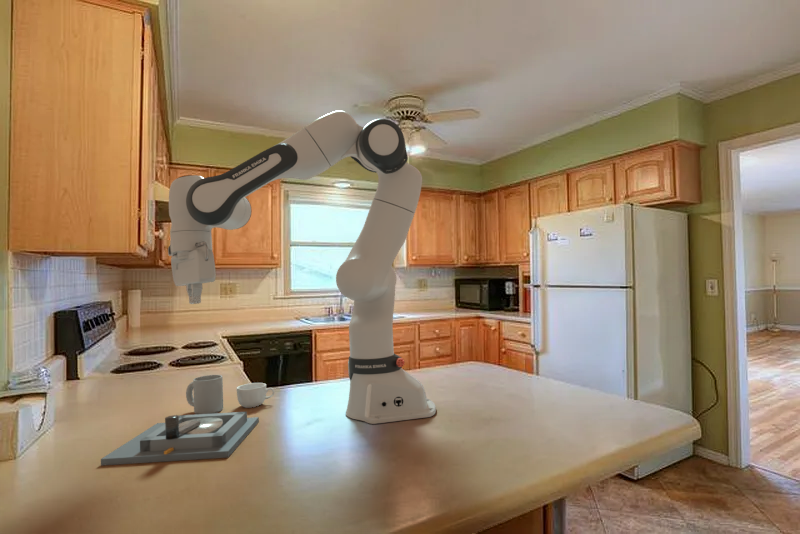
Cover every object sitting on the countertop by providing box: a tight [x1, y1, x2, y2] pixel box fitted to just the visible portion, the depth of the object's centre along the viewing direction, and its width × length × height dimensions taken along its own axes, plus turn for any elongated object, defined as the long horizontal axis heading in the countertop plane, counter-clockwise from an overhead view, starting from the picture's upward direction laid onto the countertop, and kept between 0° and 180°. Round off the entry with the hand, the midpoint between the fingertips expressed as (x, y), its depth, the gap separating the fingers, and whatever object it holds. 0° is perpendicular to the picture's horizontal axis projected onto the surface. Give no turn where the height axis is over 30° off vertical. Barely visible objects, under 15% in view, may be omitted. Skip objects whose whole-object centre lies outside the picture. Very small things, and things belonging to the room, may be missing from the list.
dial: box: [164, 414, 223, 440], centre depth 92 cm, size 14×10×6 cm
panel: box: [100, 411, 260, 466], centre depth 94 cm, size 24×21×3 cm
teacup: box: [236, 382, 275, 409], centre depth 120 cm, size 10×8×5 cm
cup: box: [185, 374, 224, 415], centre depth 117 cm, size 7×10×9 cm
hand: (195, 303), depth 102 cm, fingers closed
